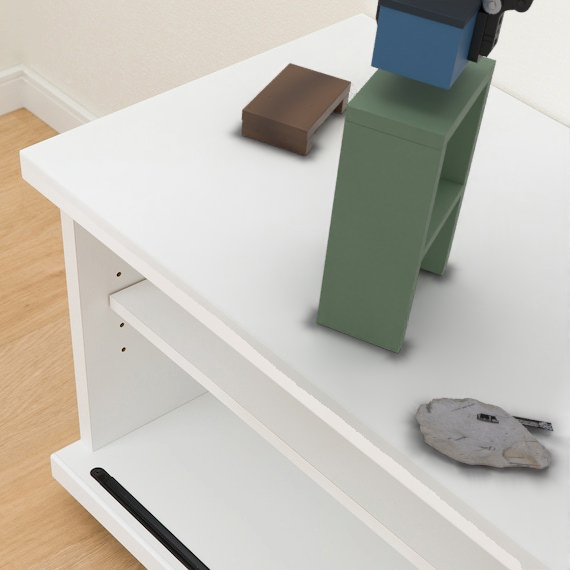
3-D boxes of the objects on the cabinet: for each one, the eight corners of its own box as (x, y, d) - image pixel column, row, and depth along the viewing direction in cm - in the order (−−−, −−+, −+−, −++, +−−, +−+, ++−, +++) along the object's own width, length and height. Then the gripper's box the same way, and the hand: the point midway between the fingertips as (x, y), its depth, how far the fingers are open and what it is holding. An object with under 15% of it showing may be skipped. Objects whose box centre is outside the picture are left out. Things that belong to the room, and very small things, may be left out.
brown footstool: (347, 106, 108) (351, 81, 106) (304, 157, 100) (307, 130, 98) (287, 87, 110) (289, 62, 108) (240, 135, 102) (241, 109, 100)
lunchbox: (489, 35, 74) (505, -32, 71) (449, 91, 67) (465, 20, 64) (414, 14, 75) (427, -53, 72) (368, 66, 69) (379, -4, 66)
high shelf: (371, 242, 91) (407, 34, 78) (446, 268, 89) (496, 60, 76) (316, 322, 83) (346, 104, 70) (397, 353, 81) (445, 135, 68)
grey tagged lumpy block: (555, 481, 72) (545, 440, 77) (568, 442, 71) (558, 402, 75) (409, 455, 72) (408, 415, 77) (419, 415, 71) (417, 377, 75)
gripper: (345, -231, 59) (315, 38, 70) (592, -177, 55) (520, 99, 66) (391, -256, 65) (357, -3, 76) (620, -209, 61) (548, 51, 72)
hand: (433, 44), depth 71 cm, fingers closed on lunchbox, 5 cm apart
